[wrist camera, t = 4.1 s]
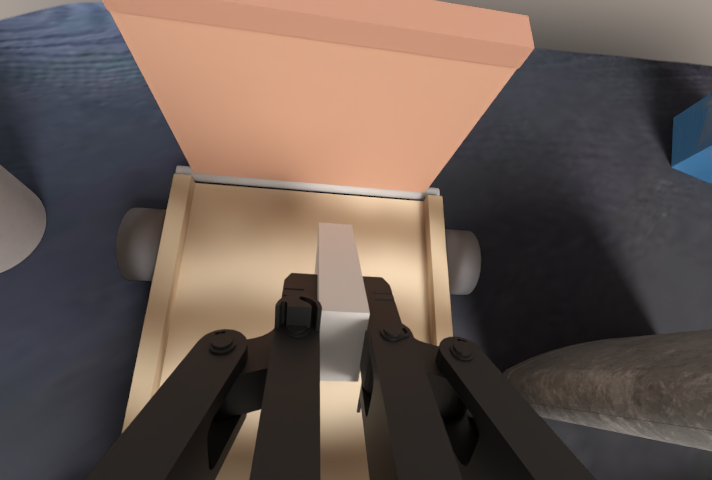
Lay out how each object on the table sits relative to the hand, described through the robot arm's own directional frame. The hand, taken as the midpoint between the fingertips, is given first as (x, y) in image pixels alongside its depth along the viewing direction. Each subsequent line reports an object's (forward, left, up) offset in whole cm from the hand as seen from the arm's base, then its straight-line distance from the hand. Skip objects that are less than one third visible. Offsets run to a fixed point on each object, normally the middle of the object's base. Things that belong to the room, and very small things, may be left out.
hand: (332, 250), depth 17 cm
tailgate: (-4, +6, -6) cm, 9 cm away
